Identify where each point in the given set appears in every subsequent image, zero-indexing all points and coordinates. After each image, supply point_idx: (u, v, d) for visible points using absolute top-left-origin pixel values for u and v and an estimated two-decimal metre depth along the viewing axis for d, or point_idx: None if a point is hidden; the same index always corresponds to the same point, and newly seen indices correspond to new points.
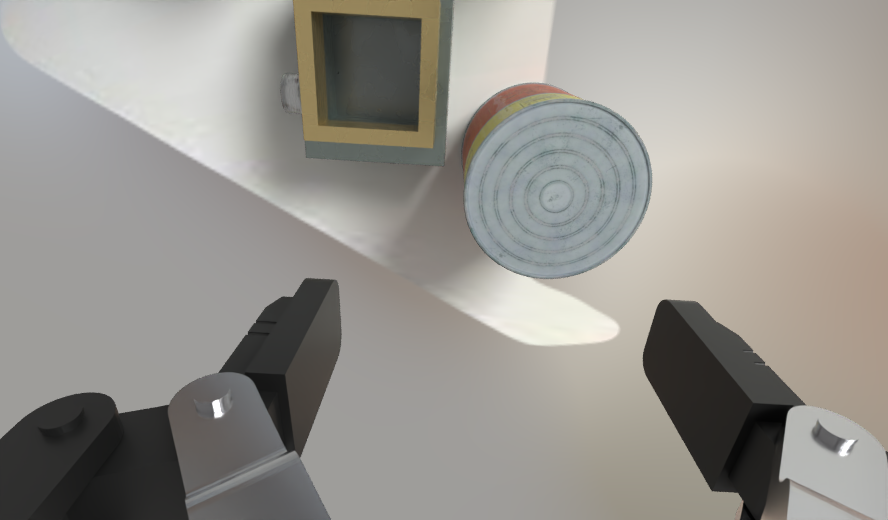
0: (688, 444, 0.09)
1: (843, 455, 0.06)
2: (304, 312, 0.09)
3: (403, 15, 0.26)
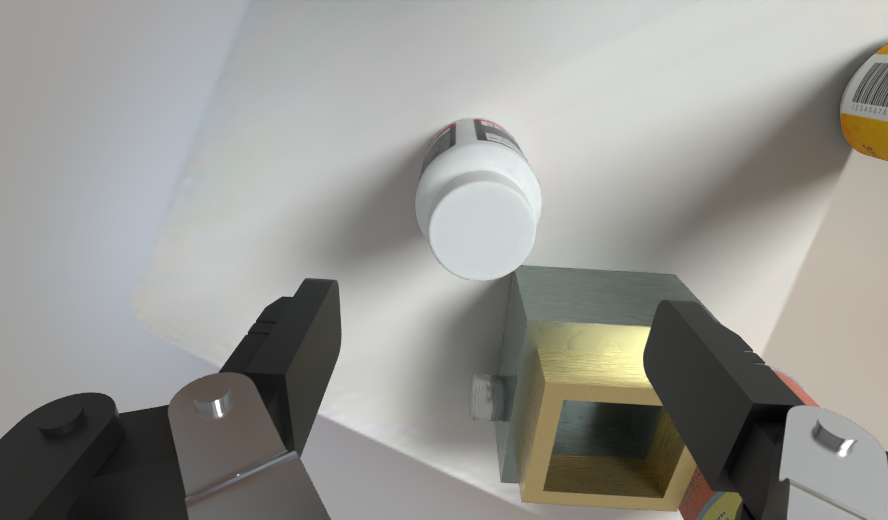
0: (688, 444, 0.09)
1: (843, 455, 0.06)
2: (304, 312, 0.09)
3: None
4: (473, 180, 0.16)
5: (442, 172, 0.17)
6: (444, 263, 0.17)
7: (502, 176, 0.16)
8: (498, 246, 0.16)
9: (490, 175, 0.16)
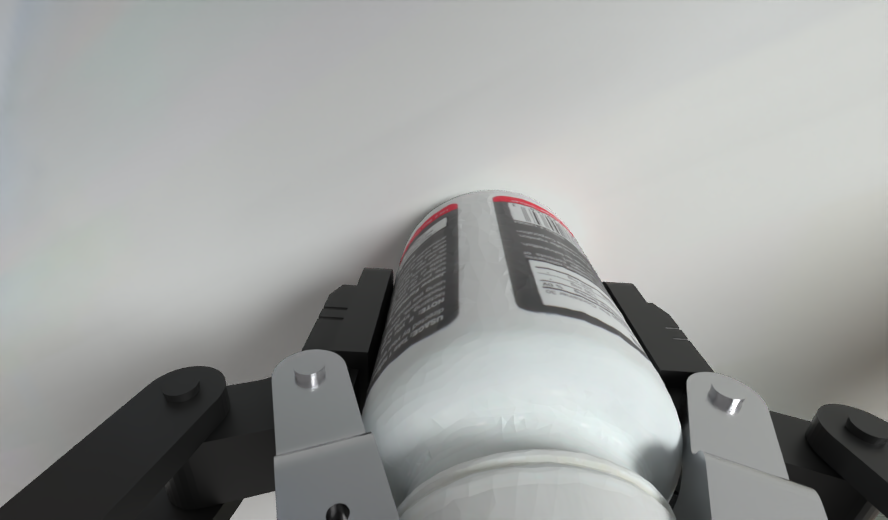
0: None
1: (728, 412, 0.07)
2: (371, 298, 0.10)
3: None
4: None
5: (422, 413, 0.06)
6: None
7: (613, 484, 0.05)
8: None
9: (578, 497, 0.05)
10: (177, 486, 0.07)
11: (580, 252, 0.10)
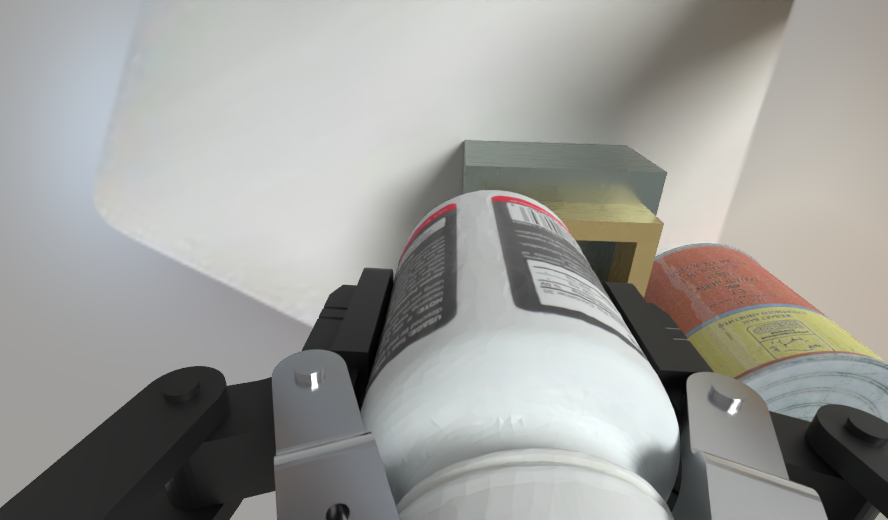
0: None
1: (728, 412, 0.07)
2: (371, 298, 0.10)
3: (614, 239, 0.21)
4: None
5: (420, 412, 0.06)
6: None
7: (609, 483, 0.05)
8: None
9: (575, 496, 0.05)
10: (177, 486, 0.07)
11: (578, 252, 0.10)
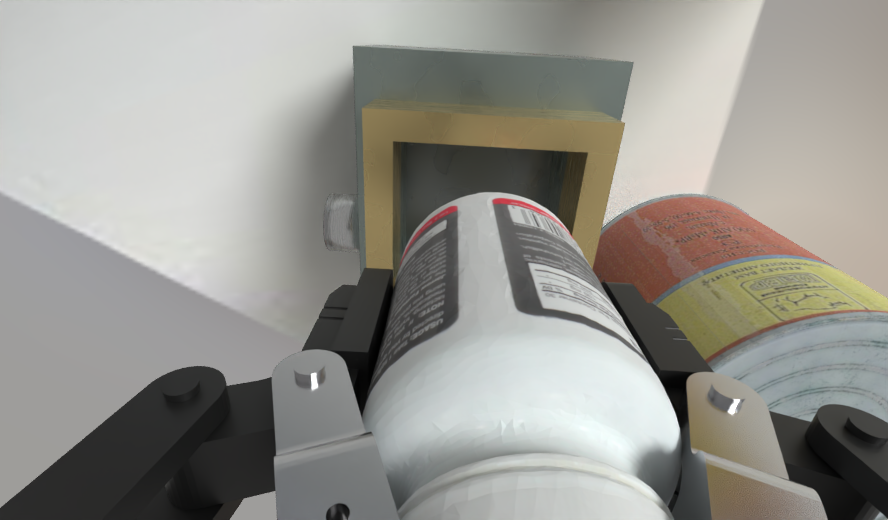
0: None
1: (728, 412, 0.07)
2: (371, 298, 0.10)
3: (556, 148, 0.15)
4: None
5: (422, 416, 0.06)
6: None
7: (612, 488, 0.05)
8: None
9: (577, 501, 0.05)
10: (177, 486, 0.07)
11: (580, 254, 0.10)
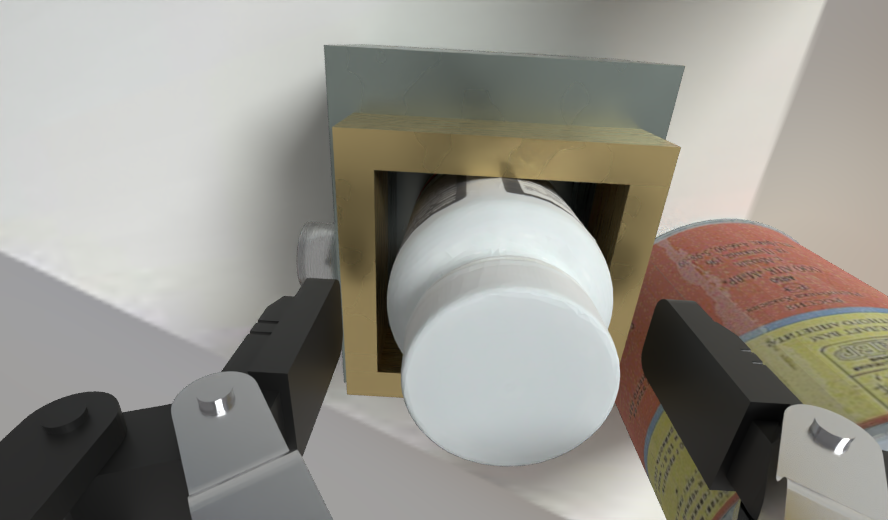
0: (686, 443, 0.09)
1: (839, 454, 0.06)
2: (306, 312, 0.09)
3: (588, 179, 0.11)
4: (500, 282, 0.07)
5: (439, 248, 0.09)
6: (429, 432, 0.08)
7: (557, 272, 0.08)
8: (539, 410, 0.08)
9: (534, 271, 0.08)
10: None
11: None
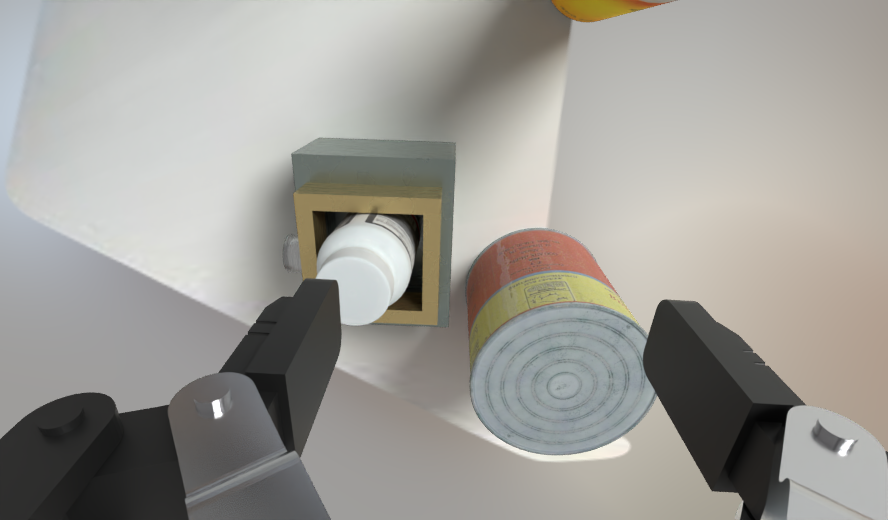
0: (688, 444, 0.09)
1: (843, 455, 0.06)
2: (304, 312, 0.09)
3: (405, 212, 0.26)
4: (346, 254, 0.22)
5: (334, 244, 0.24)
6: None
7: (370, 252, 0.23)
8: (363, 302, 0.23)
9: (361, 252, 0.23)
10: None
11: (406, 219, 0.28)
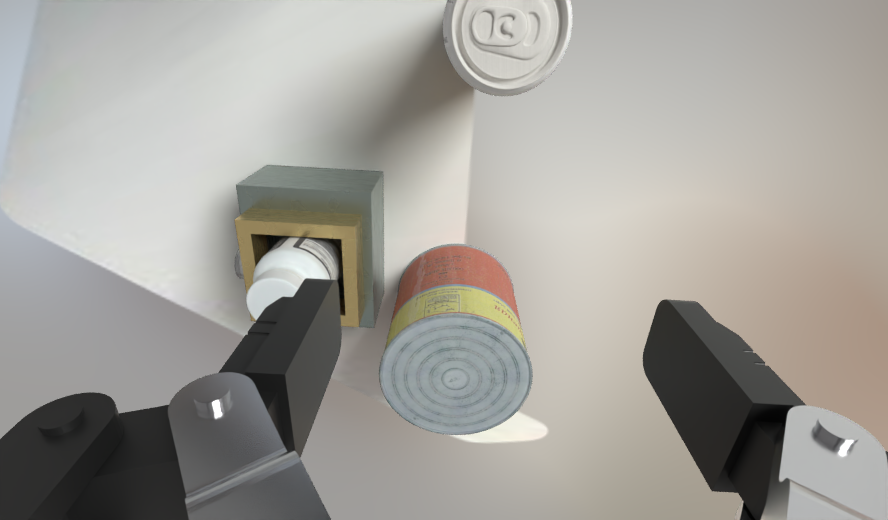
0: (688, 444, 0.09)
1: (843, 455, 0.06)
2: (304, 312, 0.09)
3: (326, 237, 0.32)
4: (271, 276, 0.28)
5: (266, 264, 0.30)
6: (255, 318, 0.29)
7: (292, 274, 0.29)
8: None
9: (284, 273, 0.29)
10: None
11: (334, 240, 0.34)
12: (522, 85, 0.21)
